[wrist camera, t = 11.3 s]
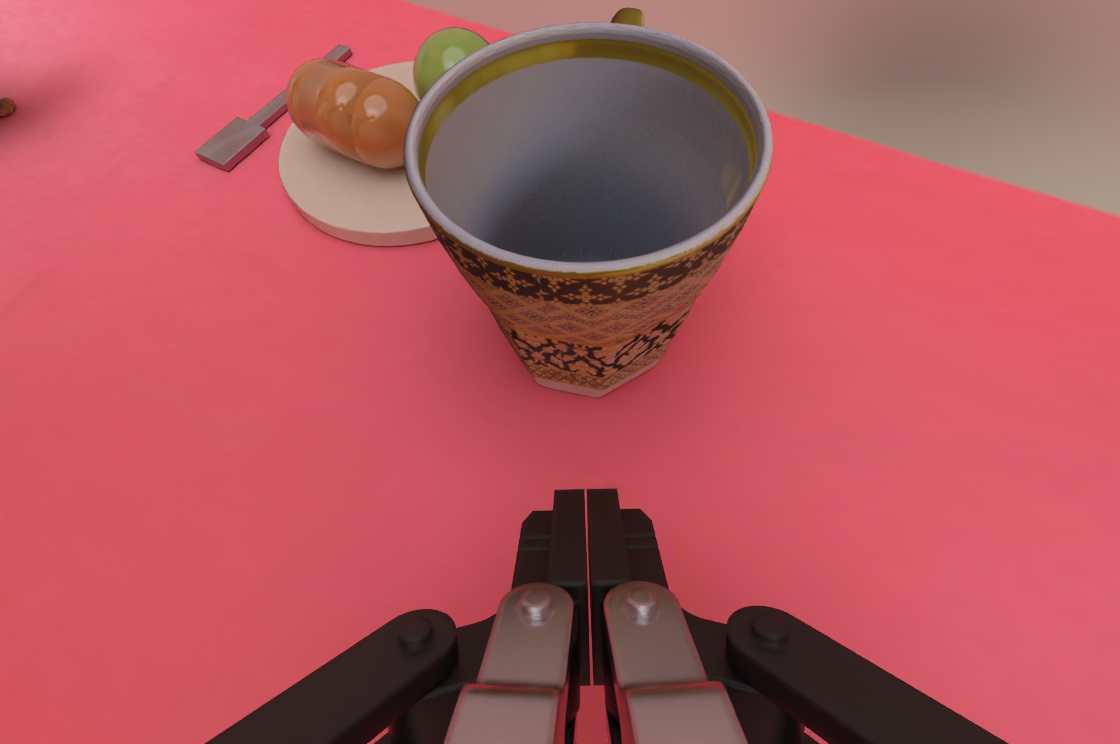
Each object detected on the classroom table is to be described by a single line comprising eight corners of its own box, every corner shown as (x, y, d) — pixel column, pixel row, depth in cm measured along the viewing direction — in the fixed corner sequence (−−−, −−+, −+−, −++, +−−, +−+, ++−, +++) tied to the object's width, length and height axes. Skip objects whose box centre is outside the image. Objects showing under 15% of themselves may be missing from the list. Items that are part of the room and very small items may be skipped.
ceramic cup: (688, 461, 21) (758, 305, 12) (437, 407, 22) (340, 235, 14) (725, 209, 27) (790, -18, 18) (524, 180, 28) (496, -42, 20)
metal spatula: (228, 172, 30) (222, 164, 29) (199, 159, 30) (193, 151, 30) (360, 56, 34) (357, 48, 34) (333, 47, 35) (330, 39, 34)
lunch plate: (234, 192, 29) (165, 97, 24) (389, 53, 34) (356, -47, 29) (437, 285, 25) (403, 195, 21) (575, 115, 31) (573, 12, 26)
